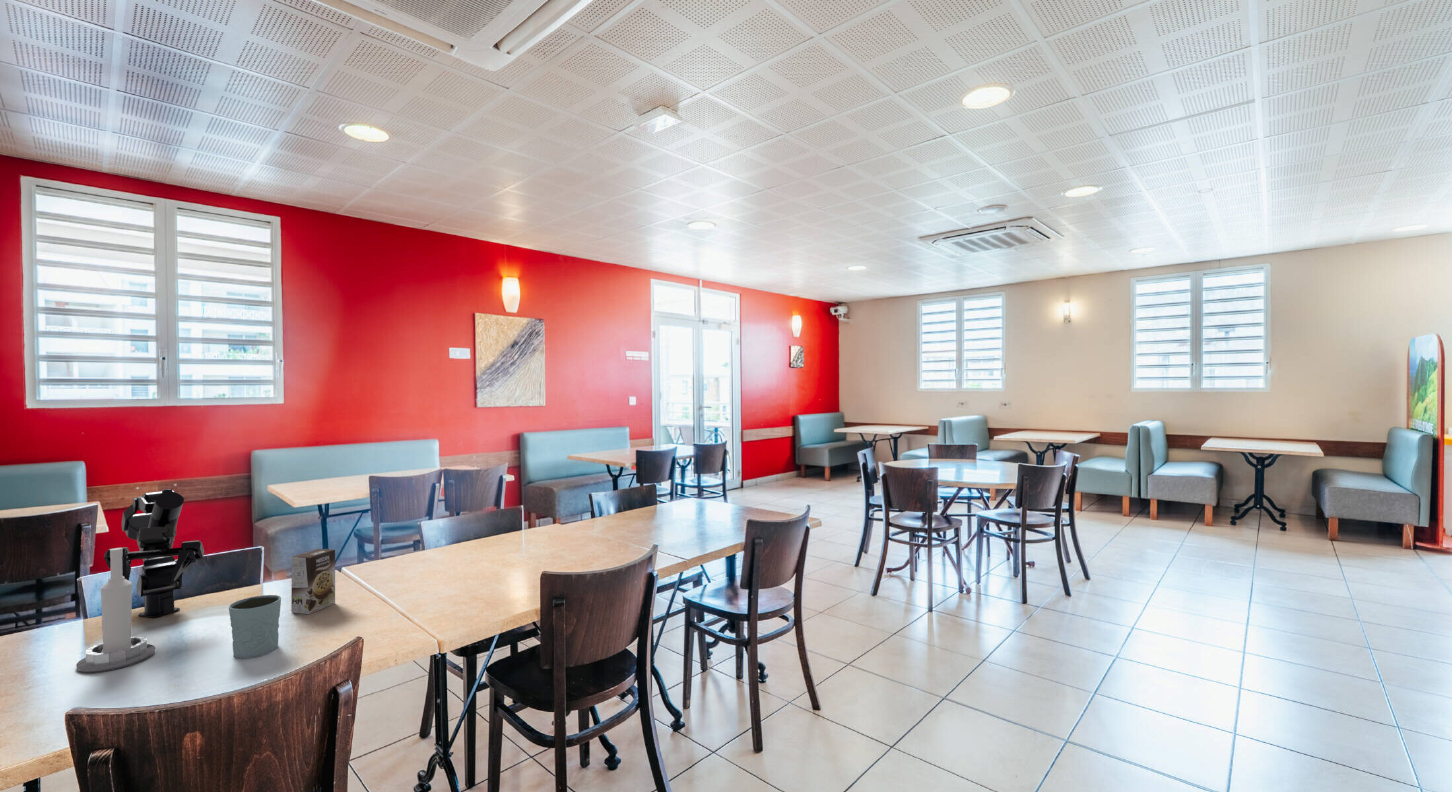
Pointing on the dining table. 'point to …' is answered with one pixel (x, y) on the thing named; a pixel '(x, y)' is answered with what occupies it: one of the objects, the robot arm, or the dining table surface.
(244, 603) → the grey-green cup
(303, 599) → the coffee box
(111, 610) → the bottle
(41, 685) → the dining table surface
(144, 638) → the grey ring
